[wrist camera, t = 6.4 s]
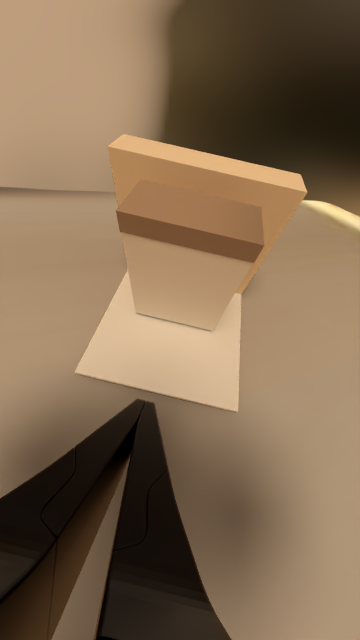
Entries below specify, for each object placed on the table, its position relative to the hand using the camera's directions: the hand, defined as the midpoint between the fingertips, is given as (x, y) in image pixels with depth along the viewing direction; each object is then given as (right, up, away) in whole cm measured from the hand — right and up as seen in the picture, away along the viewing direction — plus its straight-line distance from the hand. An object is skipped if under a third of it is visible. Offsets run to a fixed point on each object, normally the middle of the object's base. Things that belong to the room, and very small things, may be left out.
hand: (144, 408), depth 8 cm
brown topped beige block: (+1, +5, +12) cm, 13 cm away
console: (+1, +4, +11) cm, 12 cm away
